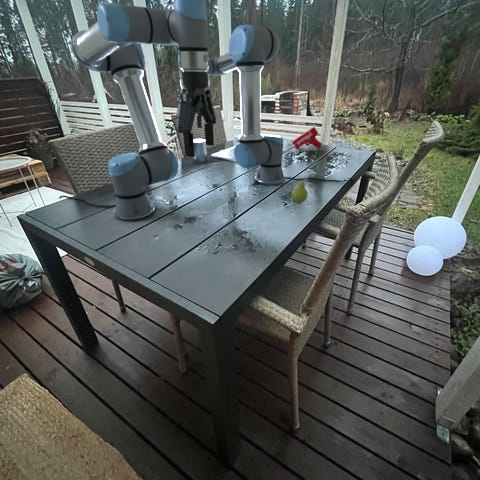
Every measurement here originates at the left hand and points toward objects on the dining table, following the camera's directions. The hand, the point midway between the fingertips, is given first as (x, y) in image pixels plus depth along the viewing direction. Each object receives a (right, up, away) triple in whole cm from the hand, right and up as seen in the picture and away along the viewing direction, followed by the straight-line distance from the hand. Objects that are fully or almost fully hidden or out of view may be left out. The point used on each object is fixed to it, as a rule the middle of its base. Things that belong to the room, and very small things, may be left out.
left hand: (200, 150), depth 85 cm
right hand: (-16, +36, +73) cm, 83 cm away
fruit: (+39, -11, +36) cm, 55 cm away
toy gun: (+61, +39, +114) cm, 135 cm away
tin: (-13, +23, +90) cm, 94 cm away
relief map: (+15, +29, +99) cm, 104 cm away
